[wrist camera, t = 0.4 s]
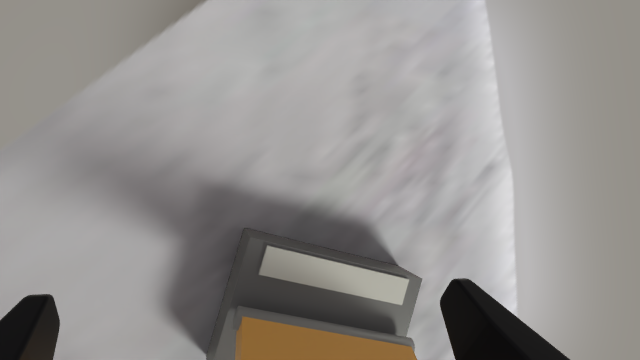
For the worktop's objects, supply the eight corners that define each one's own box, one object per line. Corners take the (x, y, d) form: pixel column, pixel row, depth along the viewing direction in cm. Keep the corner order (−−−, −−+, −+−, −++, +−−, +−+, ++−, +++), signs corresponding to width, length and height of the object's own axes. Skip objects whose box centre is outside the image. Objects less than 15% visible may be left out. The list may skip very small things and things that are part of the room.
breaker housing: (366, 379, 27) (388, 407, 24) (206, 355, 24) (207, 384, 21) (398, 266, 27) (424, 279, 24) (244, 227, 24) (250, 238, 21)
